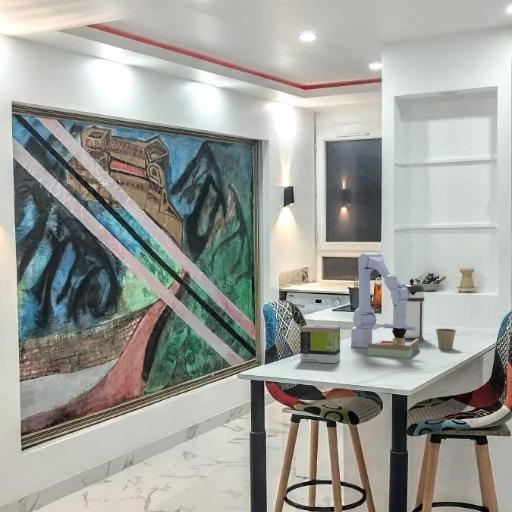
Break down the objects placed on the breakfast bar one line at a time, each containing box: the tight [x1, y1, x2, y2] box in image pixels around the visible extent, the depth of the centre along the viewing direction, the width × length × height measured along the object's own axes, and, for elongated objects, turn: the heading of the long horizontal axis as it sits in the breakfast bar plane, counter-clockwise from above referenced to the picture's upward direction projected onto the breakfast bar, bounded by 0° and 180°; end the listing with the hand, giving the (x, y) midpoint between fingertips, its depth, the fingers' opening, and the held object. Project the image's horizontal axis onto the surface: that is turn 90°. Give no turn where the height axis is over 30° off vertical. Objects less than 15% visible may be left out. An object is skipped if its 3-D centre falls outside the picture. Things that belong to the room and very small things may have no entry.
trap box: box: [367, 338, 420, 359], centre depth 355 cm, size 18×24×5 cm
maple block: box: [392, 337, 406, 346], centre depth 345 cm, size 4×4×4 cm
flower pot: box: [435, 328, 457, 350], centre depth 366 cm, size 9×9×9 cm
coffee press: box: [401, 278, 426, 341], centre depth 396 cm, size 17×16×30 cm
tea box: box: [299, 324, 341, 364], centre depth 330 cm, size 15×10×15 cm, turn 71°
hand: (399, 345), depth 349 cm, fingers closed, pressing on maple block
